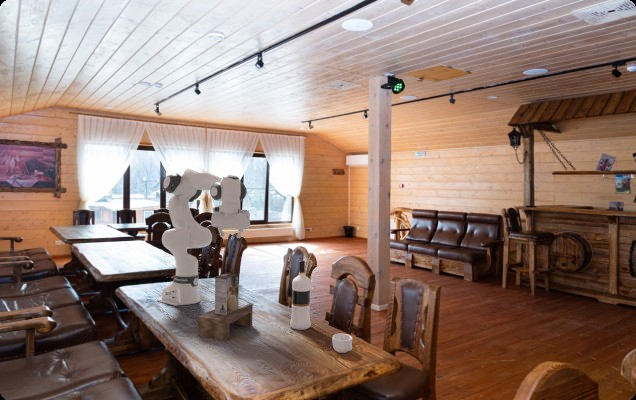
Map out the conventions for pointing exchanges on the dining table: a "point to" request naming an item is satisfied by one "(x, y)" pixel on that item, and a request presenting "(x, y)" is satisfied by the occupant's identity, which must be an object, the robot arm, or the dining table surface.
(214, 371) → the dining table surface
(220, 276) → the coffee box
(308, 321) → the vodka
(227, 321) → the walnut shelf
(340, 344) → the teacup
